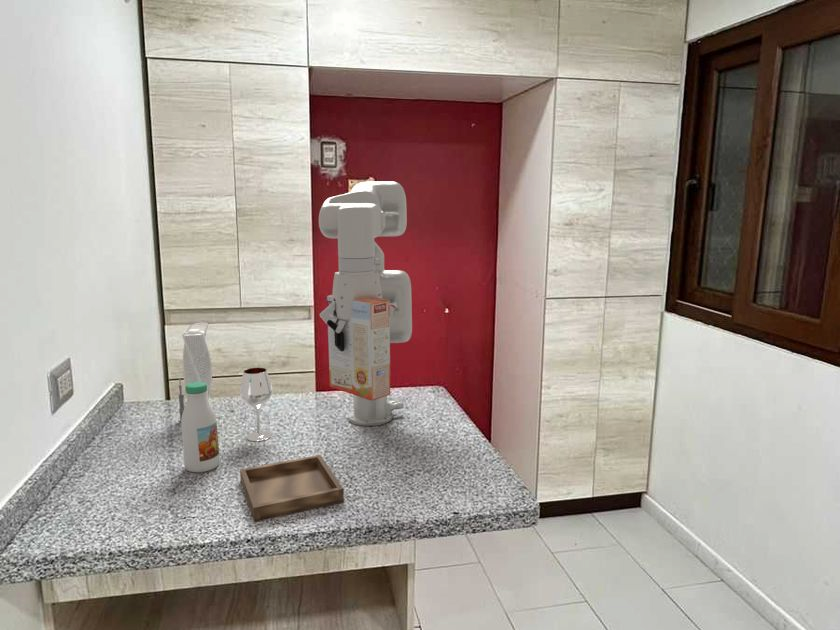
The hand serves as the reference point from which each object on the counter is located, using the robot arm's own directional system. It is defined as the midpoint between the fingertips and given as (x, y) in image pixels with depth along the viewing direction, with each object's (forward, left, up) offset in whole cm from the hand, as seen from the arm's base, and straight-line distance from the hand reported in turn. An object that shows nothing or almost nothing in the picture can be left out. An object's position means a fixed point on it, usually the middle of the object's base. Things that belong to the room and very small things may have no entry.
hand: (358, 347), depth 127 cm
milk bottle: (+32, -21, -30) cm, 49 cm away
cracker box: (0, 0, -10) cm, 10 cm away
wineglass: (+17, -33, -30) cm, 48 cm away
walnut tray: (+16, 0, -30) cm, 34 cm away
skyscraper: (+30, -52, -31) cm, 67 cm away
